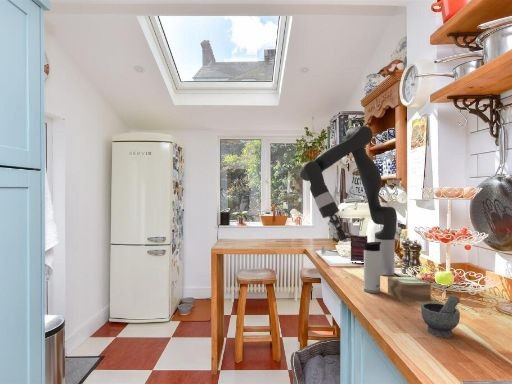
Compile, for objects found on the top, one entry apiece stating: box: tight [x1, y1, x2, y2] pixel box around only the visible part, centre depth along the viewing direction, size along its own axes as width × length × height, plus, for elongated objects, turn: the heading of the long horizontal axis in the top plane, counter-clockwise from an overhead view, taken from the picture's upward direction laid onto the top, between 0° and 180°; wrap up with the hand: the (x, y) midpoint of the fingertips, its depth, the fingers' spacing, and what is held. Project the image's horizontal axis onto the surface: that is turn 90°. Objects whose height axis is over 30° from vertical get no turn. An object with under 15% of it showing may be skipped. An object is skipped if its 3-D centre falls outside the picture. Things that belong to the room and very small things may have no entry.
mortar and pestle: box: [420, 294, 461, 338], centre depth 93 cm, size 11×9×12 cm
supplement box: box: [350, 234, 369, 262], centre depth 189 cm, size 9×5×16 cm, turn 58°
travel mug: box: [363, 241, 381, 294], centre depth 134 cm, size 6×7×20 cm
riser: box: [387, 276, 432, 302], centre depth 127 cm, size 11×11×6 cm
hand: (343, 239), depth 138 cm, fingers open, 8 cm apart
